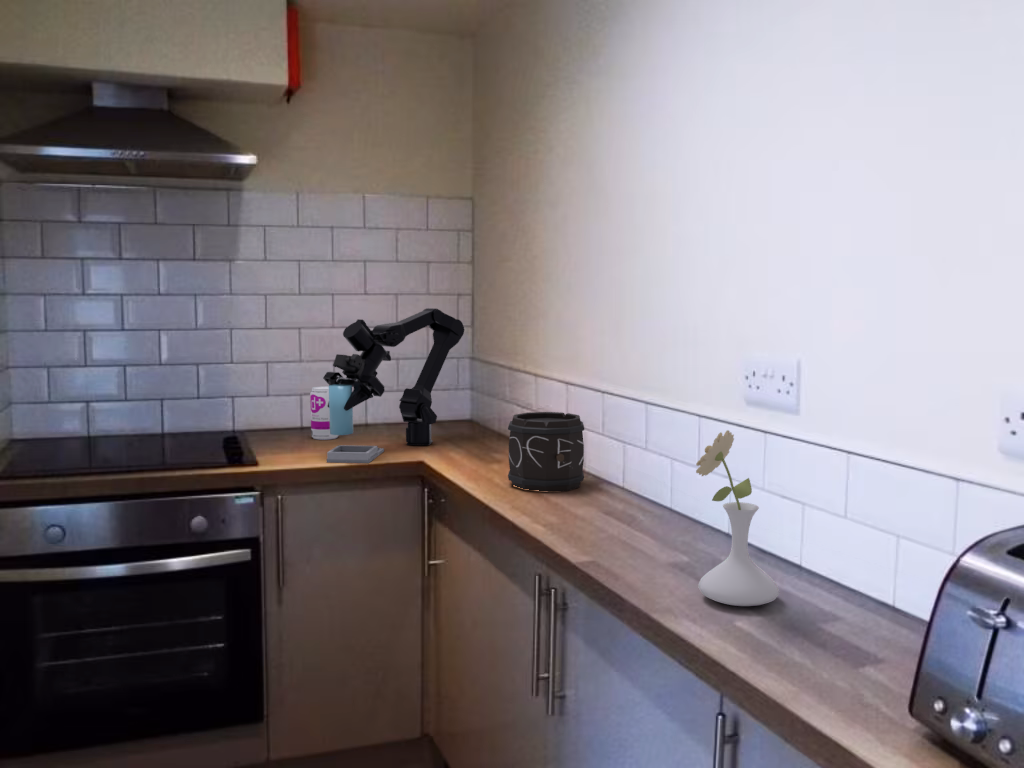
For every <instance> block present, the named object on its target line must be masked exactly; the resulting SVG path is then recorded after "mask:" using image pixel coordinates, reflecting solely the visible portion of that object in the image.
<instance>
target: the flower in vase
mask: <svg viewBox="0 0 1024 768" xmlns="http://www.w3.org/2000/svg"><path fill="white" fill-rule="evenodd" d="M734 436H735V434H733V433H732V432H731V431H730V430H729V429H727V430H726V431H725V432H724V434H723V432H722V431H721V432H719V433H718V435H717V436H716V438H715V439H714V440H713V443H712V445H710V444H709V445H706V446H705V448H704V453H705V454H703V455H701V457H700V458H699V460H698V461H697V462H696V465H695V466H697V467H698V468H696V470H695V473H696V474H698V475H699V476H700V475H701V477H704V476H708V475H710V473H712V472H713V471H715V469H718V468H719V467H720V465H721V464H723V466H724V468H725V471H726V473H727V477H728V480H729V483H730V486H724V487H722V488H720V489H719V490H717V491H716V492H715V493H714V495H713V496H712V499H711V501H713V502H723V501H724V500H725V499H726V498H728V496H729V495H730V493H731V492H732V494H733V496H734V499H735V502H733V501H732V502H727V503H724V504H722V508H723V509H724V510H725V512H726V514H727V516H728V519H729V522H730V529H731V546H730V547H731V549H730V553H729V555H728V556H727V558H726V559H725V560H723V561H721V562H720V563H719V564H717V565H716V566H714V567H713V568H712V569H710V570H709V571H707V572H706V573H705V574H704V575H703V576H702V577H701V578H700V580H699V582H698V585H697V587H698V589H699V591H700V593H701V594H702V595H703V596H704V597H706V598H708V599H710V600H712V601H715V602H718V603H721V604H724V605H728V606H729V605H730V606H736V607H737V606H738V607H754V606H761V605H764V604H768V603H771V602H773V601H775V600H776V599H777V598H778V596H779V595H780V589H779V586H778V584H777V583H776V581H774V579H773V578H772V577H771V576H770V575H769V574H768V573H767V572H765V571H764V570H763V569H762V568H761V567H759V566H758V565H757V564H756V563H755V562H754V561H753V559H752V558H751V557H750V554H749V547H748V546H749V545H748V542H749V541H748V540H749V531H750V527H751V523H752V519H753V517H754V516H755V514H756V512H758V511H759V509H760V507H759V506H758V505H757V504H753V503H751V502H750V503H749V502H740V499H743V498H745V497H749V496H751V494H752V492H753V491H752V489H753V488H752V485H751V480H750V478H749V477H748V478H746V479H744V480H743V481H741V482H739V483H738V484H736V485H735V486H734V483H733V479H732V476H731V473H730V469H729V467H728V465H727V462H726V461H725V459H726V457H727V456H728V455H729V453H730V449H731V448H732V446H733V443H734V440H735V438H734Z"/></svg>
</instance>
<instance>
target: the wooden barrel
mask: <svg viewBox="0 0 1024 768" xmlns="http://www.w3.org/2000/svg"><path fill="white" fill-rule="evenodd" d="M507 430H508V431H509V440H508V465H509V471H508V475H507V478H508V481H510V482H511V483H512V484H511V486H513V485H515V486H517V487H520V488H523V489H529V490H539V491H561V492H568V491H573V490H575V489H578V488H580V487H581V482H583V481H584V479H585V474H584V464H585V463H584V461H585V460H584V459H585V458H584V457H585V454H584V453H585V443H584V433H583V431H585V425H584V421H582V420H581V417H580V415H579V414H574V413H569V412H568V413H565V412H562V411H561V412H558V411H557V412H556V411H534V412H532V411H531V412H523V413H522V412H521V413H516V414H514V415H513V416H512V419H511V420H510V421H509V423H508V427H507Z"/></svg>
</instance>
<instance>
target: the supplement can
mask: <svg viewBox="0 0 1024 768" xmlns="http://www.w3.org/2000/svg"><path fill="white" fill-rule="evenodd" d="M309 394H310V397H309V399H310V401H309V403H310V404H309V405H310V437H312V438H313V440H317V441H318V440H319V441H320V440H321V441H323V440H325V441H327V440H335V439H337V438H338V437H339V436H340V435H332V434H330V417H329V408H328V402H329V385H327V386H326V385H325V386H323V385H322V386H313V387H312V388H311V391H310V393H309Z"/></svg>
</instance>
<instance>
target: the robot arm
mask: <svg viewBox="0 0 1024 768" xmlns="http://www.w3.org/2000/svg"><path fill="white" fill-rule="evenodd" d="M426 327H428V328H429V329H430V330H432V331H433V332H432V339H433V344H432V347H431V349H430V351H429V354H428V356H427V358H426V361H425V362H424V364H423V367H422V369H421V371H420V374H419V376H418V378H417V381H416V382H415V385H414V386H412V388H408V387H407V388H405V389H404V390H403V393H402V396H401V397H400V399H399V402H400V403H399V405H398V408H399V411H400V414H401V418H402V421H403V422H404V423H407V427H406V428H405V442H406V445H407V446H430V445H431V444H432V443H433V442H434V441H433V440H432V425H433V424H436V422H437V418H438V415H437V414H436V413H435V411H434V410H433V408H431V407H432V403H433V399H432V390H433V388H434V386H435V384H436V382H437V380H438V377H439V375H440V372H441V371H442V368H443V367H444V363H445V361H446V360H447V357H448V354H449V352H450V350H451V349H453V348H454V347H455V346H456V345H458V344H459V342H460V340H461V339H462V338H463V336H464V335H465V327H464V324H463V322H462V320H460V319H458V318H455V317H453V316H451V315H449V314H446V313H444V312H443V311H442V310H441V309H438V308H429V307H428V308H424V309H423V310H422V311H419V312H418V313H415V314H413V315H411V316H408V317H406V318H403V319H401V320H399V321H397V322H391V323H390V322H389V323H384V324H378V325H376V326H374V327H373V328H372V329H370V328H369V326H368V325H367V323H366V321H365V319H356V321H355V322H352V323H351V324H349V325H348V326H346V327H345V328H344V330H343V332H342V336H343V338H344V339H345V340H346V341H347V342H348V343H349V344H350V346H351V347H352V348H353V349H354V351H356V352H361V353H360V354H357V353H353V354H352V355H347V354H335V358H334V361H333V364H332V367H334V368H338V369H340V370H341V371H342V374H343V375H344V376H346V377H344V376H343V375H342V374H341V373H340V372H339V371H327V372H325V374H324V376H322V378H323V380H324V381H325V382H326V383H327V384H328V386H329V385H336V384H349V385H352V388H353V389H352V394H351V395H350V397H349V399H348V401H347V402H346V404H345V406H344V409H345V411H348V410H349V409H351V408H353V409H354V407H356V406H358V405H359V404H361V403H363V402H365V401H367V400H370V399H373V398H374V397H379V398H381V397H382V396H383V395H384V393H385V391H386V390H385V385H384V384H383V383H382V382H381V380H380V379H379V378H378V377H377V375H378V374H379V373H378V371H377V369H378V368H379V366H380V365H381V363H382V362H383V361H384V362H391V361H392V357H391V353H390V352H391V351H390V350H386V349H385V348H384V347H387V348H388V347H389V348H394V347H397V346H399V345H400V344H402V343H403V342H404V341H405V339H406V337H407V336H408V335H411V334H413V333H416V332H418V331H420V330H421V329H424V328H426ZM328 408H329V402H328Z"/></svg>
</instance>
